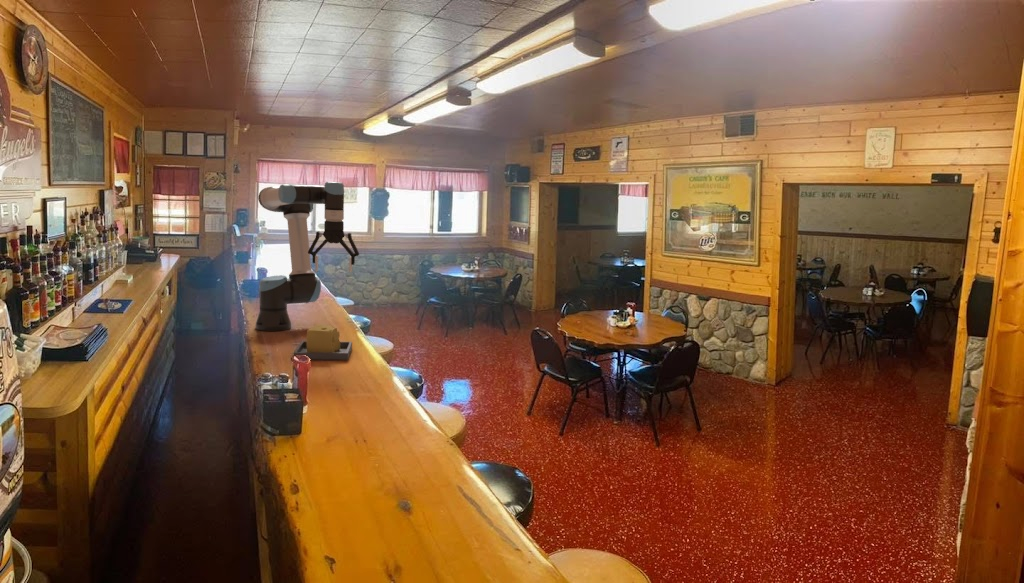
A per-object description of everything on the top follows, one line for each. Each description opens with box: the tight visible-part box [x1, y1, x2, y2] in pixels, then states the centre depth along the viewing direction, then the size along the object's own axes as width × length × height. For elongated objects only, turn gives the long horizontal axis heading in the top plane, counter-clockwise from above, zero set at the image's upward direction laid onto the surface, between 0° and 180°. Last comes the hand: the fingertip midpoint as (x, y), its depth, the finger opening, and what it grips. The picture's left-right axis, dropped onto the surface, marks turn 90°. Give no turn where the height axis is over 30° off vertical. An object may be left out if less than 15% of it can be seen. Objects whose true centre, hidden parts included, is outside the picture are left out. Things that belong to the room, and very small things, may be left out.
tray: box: [292, 340, 353, 362], centre depth 254 cm, size 18×20×3 cm
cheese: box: [306, 323, 341, 352], centre depth 253 cm, size 10×11×10 cm
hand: (333, 271), depth 267 cm, fingers open, 13 cm apart
